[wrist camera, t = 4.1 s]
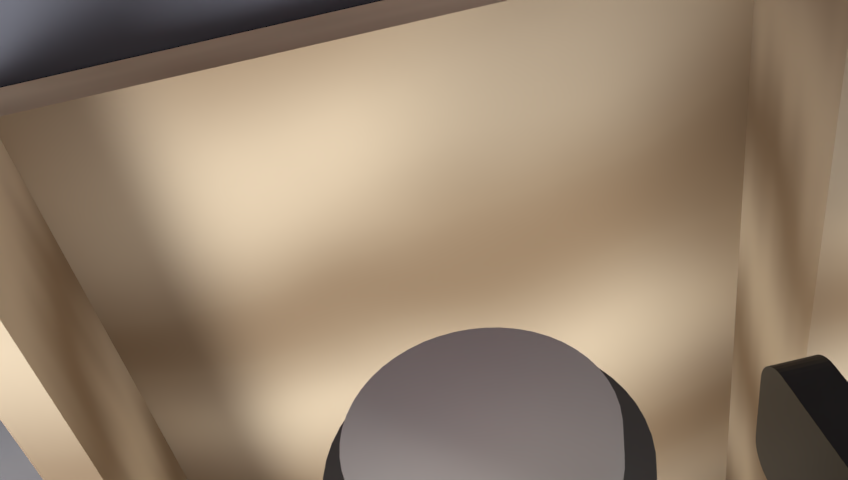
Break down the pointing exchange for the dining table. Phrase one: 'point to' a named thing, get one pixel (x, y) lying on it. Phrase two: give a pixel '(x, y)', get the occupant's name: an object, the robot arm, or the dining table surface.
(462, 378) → the rod
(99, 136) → the game board
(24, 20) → the dining table surface
